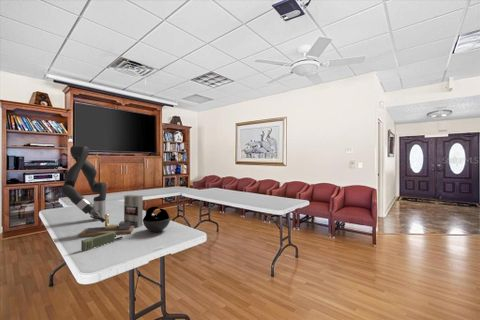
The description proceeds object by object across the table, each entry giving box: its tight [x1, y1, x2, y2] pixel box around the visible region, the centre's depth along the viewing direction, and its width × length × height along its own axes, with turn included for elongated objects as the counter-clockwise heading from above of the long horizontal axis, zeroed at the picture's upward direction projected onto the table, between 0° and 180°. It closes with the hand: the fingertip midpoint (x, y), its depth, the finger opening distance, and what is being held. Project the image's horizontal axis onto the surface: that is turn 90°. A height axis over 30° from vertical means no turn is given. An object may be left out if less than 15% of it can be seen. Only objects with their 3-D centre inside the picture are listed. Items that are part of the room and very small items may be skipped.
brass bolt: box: [104, 213, 119, 229], centre depth 173 cm, size 3×8×12 cm, turn 106°
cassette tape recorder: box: [123, 194, 144, 228], centre depth 189 cm, size 14×6×25 cm, turn 76°
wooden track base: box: [77, 225, 135, 239], centre depth 172 cm, size 14×34×4 cm, turn 106°
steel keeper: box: [118, 220, 131, 230], centre depth 175 cm, size 6×7×5 cm
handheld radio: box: [80, 231, 123, 252], centre depth 149 cm, size 7×3×25 cm
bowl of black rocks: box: [142, 205, 171, 233], centre depth 177 cm, size 20×20×19 cm
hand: (104, 221), depth 171 cm, fingers closed
